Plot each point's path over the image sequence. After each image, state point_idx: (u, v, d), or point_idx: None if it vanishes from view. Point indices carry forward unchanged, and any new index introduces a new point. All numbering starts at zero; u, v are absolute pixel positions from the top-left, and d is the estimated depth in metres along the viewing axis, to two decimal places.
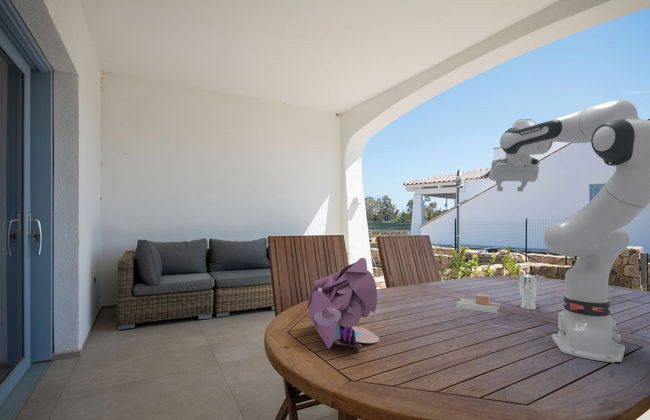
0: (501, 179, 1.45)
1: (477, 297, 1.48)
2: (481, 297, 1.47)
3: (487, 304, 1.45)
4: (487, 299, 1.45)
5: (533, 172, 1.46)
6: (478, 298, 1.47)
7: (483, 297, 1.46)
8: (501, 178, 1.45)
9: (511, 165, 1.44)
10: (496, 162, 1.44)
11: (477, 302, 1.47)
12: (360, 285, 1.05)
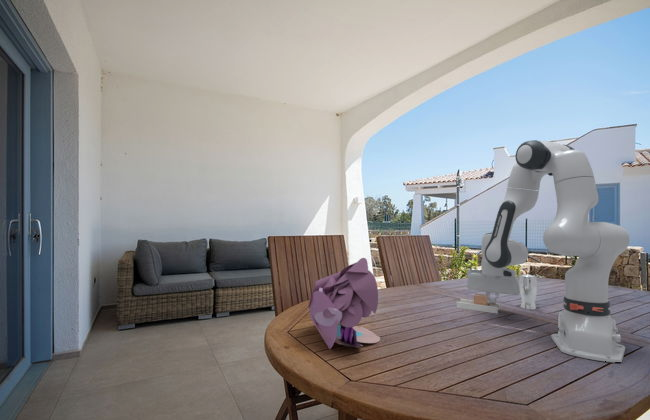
0: (476, 289, 1.49)
1: (475, 297, 1.48)
2: (479, 297, 1.47)
3: (485, 304, 1.46)
4: (485, 299, 1.46)
5: (513, 285, 1.41)
6: (476, 298, 1.48)
7: (481, 297, 1.47)
8: (476, 288, 1.49)
9: (484, 276, 1.47)
10: (470, 272, 1.51)
11: (475, 302, 1.48)
12: (361, 285, 1.05)
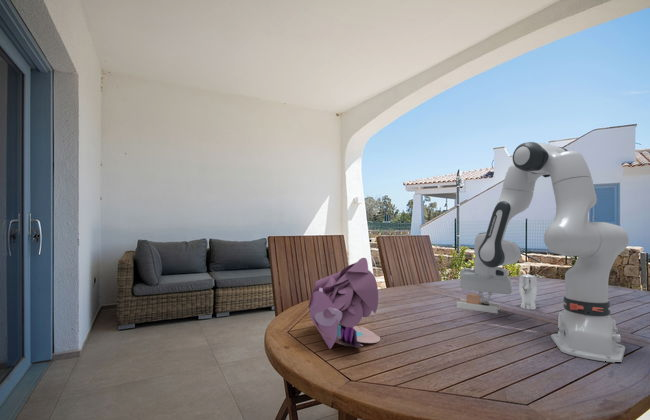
0: (469, 288, 1.50)
1: (468, 296, 1.49)
2: (472, 296, 1.49)
3: (478, 303, 1.47)
4: (478, 298, 1.47)
5: (505, 284, 1.43)
6: (469, 297, 1.49)
7: (474, 296, 1.48)
8: (469, 287, 1.50)
9: (477, 275, 1.49)
10: (463, 271, 1.53)
11: (468, 301, 1.49)
12: (361, 285, 1.05)
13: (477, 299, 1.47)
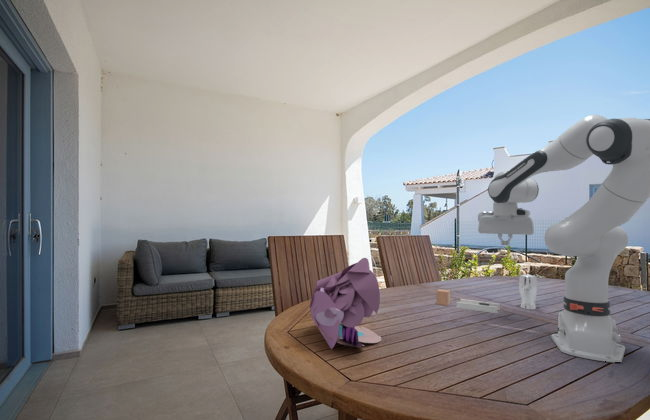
0: (488, 231, 1.44)
1: (438, 292, 1.57)
2: (441, 292, 1.56)
3: (446, 299, 1.54)
4: (446, 294, 1.54)
5: (526, 224, 1.36)
6: (438, 293, 1.56)
7: (443, 292, 1.55)
8: (487, 230, 1.44)
9: (496, 217, 1.42)
10: (481, 215, 1.47)
11: (438, 297, 1.57)
12: (363, 285, 1.05)
13: (446, 295, 1.55)
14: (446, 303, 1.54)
